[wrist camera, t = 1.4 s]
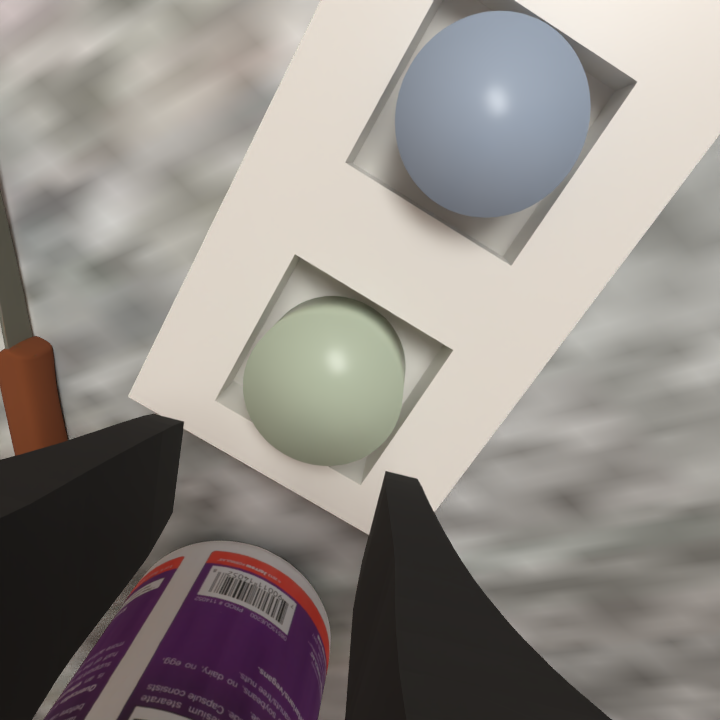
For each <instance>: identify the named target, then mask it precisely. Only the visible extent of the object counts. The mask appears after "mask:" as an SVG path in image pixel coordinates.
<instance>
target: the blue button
mask: <svg viewBox="0 0 720 720" xmlns="http://www.w3.org/2000/svg"><path fill="white" fill-rule="evenodd" d="M590 108H591V104H590V91H589V86H588V81H587V77H586V74H585V72H584V69H583V66H582V64H581V62H580V60H579V58H578V56H577V54H576V53H575V51H574V50H573V48H572V47H571V46H570V44H569V43H568V42H567V41H566V40H565V39H564V38H563V36H562V35H561V34H560V33H558V32H557V31H556V30H555V29H553V28H552V27H551V26H549V25H548V24H546V23H544V22H542V21H541V20H539V19H537V18H534V17H531V16H529V15H526V14H522V13H517V12H512V11H489V12H482V13H478V14H474V15H470V16H468V17H465V18H463V19H460V20H458V21H456V22H454V23H453V24H451V25H449V26H447V27H446V28H444V29H443V30H442V31H440V32H439V33H437V34H436V35H435V36H434V37H433V38H432V39H431V40H430V41H429V42H428V43H427V44H425V46H424V47H423V48H422V49H421V51H420V52H419V53H418V54H417V56H416V57H415V59H414V60H413V62H412V63H411V65H410V67H409V68H408V71H407V73H406V75H405V77H404V79H403V82H402V85H401V88H400V91H399V94H398V99H397V104H396V112H395V133H396V140H397V146H398V149H399V152H400V156H401V159H402V161H403V163H404V166H405V168H406V170H407V171H408V173H409V175H410V176H411V178H412V180H413V181H414V182H415V183H416V185H417V186H418V187H419V189H420V190H421V191H423V192H424V193H425V194H426V195H427V196H428V197H429V198H430V199H432V200H433V201H434V202H436V203H437V204H439V205H440V206H442V207H444V208H446V209H448V210H450V211H453V212H456V213H458V214H462V215H466V216H471V217H481V218H489V217H500V216H505V215H510V214H513V213H516V212H519V211H522V210H524V209H526V208H528V207H530V206H532V205H534V204H535V203H537V202H539V201H540V200H542V199H543V198H545V197H546V196H547V195H548V194H550V193H551V192H552V191H553V190H554V189H555V188H556V187H557V186H558V185H559V184H560V183H561V182H562V181H563V180H564V178H565V177H566V176H567V175H568V173H569V172H570V171H571V169H572V167H573V166H574V164H575V162H576V161H577V159H578V157H579V155H580V152H581V150H582V148H583V146H584V142H585V139H586V136H587V132H588V127H589V121H590Z"/></svg>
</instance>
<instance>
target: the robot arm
mask: <svg viewBox="0 0 720 720" xmlns="http://www.w3.org/2000/svg"><path fill="white" fill-rule="evenodd" d="M183 427H184V421H180V420H176V419H172V418H168V417H164V416H160V415H156V414H151V415H146V416H142V417H139V418H135V419H132V420H129V421H126V422H122V423H119V424H116V425H113V426H110V427H107V428H104V429H101V430H98V431H95V432H92V433H89V434H86V435H83V436H80V437H77V438H74V439H71V440H68V441H65V442H62V443H58V444H55V445H51V446H48V447H44V448H41V449H37V450H34V451H31V452H27V453H24V454H20V455H17V456H13V457H10V458H6V459H2V460H0V720H32V719H33V717H34V715H35V714H36V712H37V711H38V709H39V707H40V706H41V704H42V702H43V701H44V699H45V698H46V696H47V694H48V693H49V691H50V689H51V688H52V686H53V685H54V683H55V681H56V680H57V678H58V677H59V675H60V674H61V672H62V671H63V670H64V668H65V667H66V665H67V664H68V662H69V661H70V659H71V658H72V657H73V655H74V654H75V652H76V651H77V650H78V649H79V647H80V646H81V645H82V643H83V642H84V641H85V639H86V638H87V637H88V635H89V634H90V633H91V631H92V630H93V629H94V627H95V626H96V625H97V624H98V622H99V621H100V620H101V618H102V617H103V616H104V614H105V613H106V612H107V610H108V609H109V608H110V606H111V605H112V604H113V603H114V601H115V600H116V599H117V597H118V596H119V595H120V593H121V592H122V591H123V589H124V588H125V587H126V585H127V584H128V583H129V581H130V580H131V579H132V577H133V576H134V575H135V573H136V572H137V571H138V569H139V568H140V567H141V565H142V564H143V563H144V561H145V560H146V558H147V557H148V556H149V554H150V552H151V550H152V549H153V547H154V545H155V544H156V542H157V540H158V538H159V537H160V535H161V533H162V531H163V529H164V527H165V526H166V524H167V522H168V520H169V518H170V516H171V515H172V513H173V505H174V497H175V489H176V482H177V474H178V466H179V458H180V450H181V443H182V435H183ZM345 720H612V719H610V718H609V717H608V716H607V715H605V714H604V713H603V712H602V711H601V710H600V709H598V708H597V707H596V706H595V705H594V704H593V703H591V702H590V701H589V700H588V699H587V698H586V697H584V696H583V695H582V694H581V693H580V692H578V691H577V690H576V689H575V688H574V687H573V686H572V685H570V684H569V683H568V682H567V681H566V680H565V679H564V678H563V677H562V676H561V675H560V674H558V673H557V672H556V671H555V670H554V669H553V668H552V667H551V666H550V665H549V664H548V663H547V662H546V661H545V660H544V659H543V658H542V657H541V656H540V655H539V654H538V653H537V652H536V651H535V650H534V649H533V648H532V647H531V646H530V645H529V644H528V643H527V642H526V641H525V640H524V639H523V638H522V637H521V636H520V635H519V633H518V632H517V631H516V630H515V629H514V628H513V627H512V626H511V625H510V624H509V622H508V621H507V620H506V619H505V618H504V617H503V615H502V614H501V613H500V612H499V611H498V609H497V608H496V607H495V606H494V604H493V603H492V602H491V601H490V600H489V598H488V597H487V596H486V595H485V593H484V592H483V591H482V589H481V588H480V587H479V585H478V584H477V583H476V581H475V580H474V579H473V577H472V576H471V574H470V573H469V571H468V570H467V568H466V567H465V565H464V564H463V562H462V561H461V559H460V558H459V556H458V554H457V553H456V551H455V550H454V548H453V546H452V544H451V543H450V541H449V539H448V537H447V536H446V534H445V532H444V530H443V528H442V527H441V525H440V523H439V521H438V519H437V517H436V515H435V513H434V511H433V509H432V507H431V505H430V503H429V501H428V499H427V497H426V494H425V492H424V490H423V488H422V486H421V484H420V482H419V480H418V479H417V478H413V477H409V476H404V475H400V474H396V473H392V472H388V471H385V475H384V479H383V483H382V487H381V491H380V494H379V498H378V502H377V506H376V510H375V514H374V518H373V521H372V525H371V529H370V533H369V537H368V541H367V545H366V548H365V552H364V556H363V560H362V565H361V570H360V576H359V581H358V586H357V592H356V597H355V602H354V608H353V620H352V633H351V647H350V660H349V674H348V688H347V702H346V716H345Z"/></svg>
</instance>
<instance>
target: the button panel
mask: <svg viewBox="0 0 720 720" xmlns="http://www.w3.org/2000/svg"><path fill="white" fill-rule="evenodd" d="M489 11H512V12H517V13H522V14H526V15H529V16H531V17H534V18H537V19H539V20H541V21H542V22H544V23H546V24H548V25H549V26H551V27H552V28H553V29H555V30H556V31H557V32H558V33H560V34H561V35H562V36H563V38H564V39H565V40H566V41H567V42H568V43H569V44H570V46H571V47H572V48H573V50H574V51H575V53H576V54H577V56H578V58H579V60H580V62H581V64H582V66H583V69H584V72H585V74H586V77H587V81H588V86H589V91H590V104H591V108H590V121H589V127H588V132H587V136H586V139H585V142H584V146H583V148H582V150H581V152H580V155H579V157H578V159H577V161H576V162H575V164H574V166H573V167H572V169H571V171H570V172H569V173H568V175H567V176H566V177H565V178H564V180H563V181H562V182H561V183H560V184H559V185H558V186H557V187H556V188H555V189H554V190H553V191H552V192H551V193H550V194H548V195H547V196H546V197H545V198H543V199H542V200H540V201H539V202H537V203H535V204H534V205H532V206H530V207H528V208H526V209H524V210H522V211H519V212H516V213H513V214H510V215H505V216H500V217H489V218H481V217H471V216H466V215H462V214H458V213H456V212H453V211H450V210H448V209H446V208H444V207H442V206H440V205H439V204H437V203H436V202H434V201H433V200H432V199H430V198H429V197H428V196H427V195H426V194H425V193H424V192H423V191H421V190H420V189H419V187H418V186H417V185H416V183H415V182H414V181H413V180H412V178H411V176H410V175H409V173H408V171H407V170H406V168H405V166H404V163H403V161H402V159H401V156H400V152H399V149H398V146H397V140H396V133H395V112H396V104H397V99H398V94H399V91H400V88H401V85H402V82H403V79H404V77H405V75H406V73H407V71H408V68H409V67H410V65H411V63H412V62H413V60H414V59H415V57H416V56H417V54H418V53H419V52H420V51H421V49H422V48H423V47H424V46H425V44H427V43H428V42H429V41H430V40H431V39H432V38H433V37H434V36H435V35H436V34H437V33H439V32H440V31H442V30H443V29H444V28H446V27H447V26H449V25H451V24H453V23H454V22H456V21H458V20H460V19H463V18H465V17H468V16H470V15H474V14H478V13H482V12H489ZM719 134H720V0H321V1H320V3H319V5H318V7H317V9H316V11H315V13H314V15H313V17H312V19H311V21H310V23H309V25H308V27H307V29H306V31H305V34H304V36H303V38H302V40H301V42H300V44H299V46H298V48H297V50H296V52H295V54H294V56H293V58H292V60H291V62H290V64H289V66H288V68H287V71H286V73H285V75H284V77H283V79H282V81H281V83H280V85H279V87H278V89H277V91H276V93H275V95H274V97H273V99H272V101H271V103H270V105H269V108H268V110H267V112H266V114H265V116H264V118H263V120H262V122H261V124H260V126H259V128H258V130H257V132H256V134H255V136H254V138H253V140H252V142H251V145H250V147H249V149H248V151H247V153H246V155H245V157H244V159H243V161H242V163H241V165H240V167H239V169H238V171H237V173H236V175H235V177H234V180H233V182H232V184H231V186H230V188H229V190H228V192H227V194H226V196H225V198H224V200H223V202H222V204H221V206H220V208H219V210H218V212H217V214H216V217H215V219H214V221H213V223H212V225H211V227H210V229H209V231H208V233H207V235H206V237H205V239H204V241H203V243H202V245H201V247H200V249H199V251H198V254H197V256H196V258H195V260H194V262H193V264H192V266H191V268H190V270H189V272H188V274H187V276H186V278H185V280H184V282H183V284H182V286H181V289H180V291H179V293H178V295H177V297H176V299H175V301H174V303H173V305H172V307H171V309H170V311H169V313H168V315H167V317H166V319H165V321H164V323H163V326H162V328H161V330H160V332H159V334H158V336H157V338H156V340H155V342H154V344H153V346H152V348H151V350H150V352H149V354H148V356H147V358H146V360H145V363H144V365H143V367H142V369H141V371H140V373H139V375H138V377H137V379H136V381H135V383H134V385H133V387H132V389H131V391H130V393H129V395H128V397H129V398H131V399H133V400H135V401H136V402H138V403H140V404H142V405H143V406H145V407H147V408H149V409H150V410H152V411H154V412H156V413H157V414H159V415H161V416H164V417H168V418H172V419H176V420H180V421H184V427H183V429H185V430H187V431H189V432H190V433H192V434H194V435H196V436H197V437H199V438H201V439H203V440H204V441H206V442H208V443H210V444H211V445H213V446H215V447H217V448H218V449H220V450H222V451H223V452H225V453H227V454H229V455H230V456H232V457H234V458H236V459H237V460H239V461H241V462H243V463H244V464H246V465H248V466H250V467H251V468H253V469H255V470H257V471H258V472H260V473H262V474H264V475H265V476H267V477H269V478H271V479H272V480H274V481H276V482H277V483H279V484H281V485H283V486H284V487H286V488H288V489H290V490H291V491H293V492H295V493H297V494H298V495H300V496H302V497H304V498H305V499H307V500H309V501H311V502H312V503H314V504H316V505H318V506H319V507H321V508H323V509H325V510H326V511H328V512H330V513H331V514H333V515H335V516H337V517H338V518H340V519H342V520H344V521H345V522H347V523H349V524H351V525H352V526H354V527H356V528H358V529H359V530H361V531H363V532H365V533H366V534H368V535H369V533H370V529H371V525H372V521H373V518H374V514H375V510H376V506H377V502H378V498H379V494H380V491H381V487H382V483H383V479H384V475H385V471H388V472H392V473H396V474H400V475H404V476H409V477H413V478H417V479H418V480H419V482H420V484H421V486H422V488H423V490H424V492H425V494H426V497H427V499H428V501H429V503H430V505H431V507H432V509H433V511H434V512H435V511H436V509H437V508H438V507H439V505H440V504H441V503H442V501H443V500H444V499H445V497H446V496H447V495H448V494H449V492H450V491H451V490H452V488H453V487H454V486H455V484H456V483H457V482H458V480H459V479H460V478H461V476H462V475H463V474H464V472H465V471H466V470H467V468H468V467H469V466H470V464H471V463H472V462H473V460H474V459H475V458H476V456H477V455H478V454H479V452H480V451H481V450H482V448H483V447H484V446H485V444H486V443H487V442H488V440H489V439H490V438H491V437H492V435H493V434H494V433H495V431H496V430H497V429H498V427H499V426H500V425H501V423H502V422H503V421H504V419H505V418H506V417H507V415H508V414H509V413H510V411H511V410H512V409H513V407H514V406H515V405H516V403H517V402H518V401H519V399H520V398H521V397H522V395H523V394H524V393H525V391H526V390H527V389H528V387H529V386H530V385H531V384H532V382H533V381H534V380H535V378H536V377H537V376H538V374H539V373H540V372H541V370H542V369H543V368H544V366H545V365H546V364H547V362H548V361H549V360H550V358H551V357H552V356H553V354H554V353H555V352H556V350H557V349H558V348H559V346H560V345H561V344H562V342H563V341H564V340H565V338H566V337H567V336H568V334H569V333H570V332H571V331H572V329H573V328H574V327H575V325H576V324H577V323H578V321H579V320H580V319H581V317H582V316H583V315H584V313H585V312H586V311H587V309H588V308H589V307H590V305H591V304H592V303H593V301H594V300H595V299H596V297H597V296H598V295H599V293H600V292H601V291H602V289H603V288H604V287H605V285H606V284H607V283H608V281H609V280H610V279H611V277H612V276H613V275H614V274H615V272H616V271H617V270H618V268H619V267H620V266H621V264H622V263H623V262H624V260H625V259H626V258H627V256H628V255H629V254H630V252H631V251H632V250H633V248H634V247H635V246H636V244H637V243H638V242H639V240H640V239H641V238H642V236H643V235H644V234H645V232H646V231H647V230H648V228H649V227H650V226H651V224H652V223H653V222H654V221H655V219H656V218H657V217H658V215H659V214H660V213H661V211H662V210H663V209H664V207H665V206H666V205H667V203H668V202H669V201H670V199H671V198H672V197H673V195H674V194H675V193H676V191H677V190H678V189H679V187H680V186H681V185H682V183H683V182H684V181H685V179H686V178H687V177H688V175H689V174H690V173H691V171H692V170H693V169H694V168H695V166H696V165H697V164H698V162H699V161H700V160H701V158H702V157H703V156H704V154H705V153H706V152H707V150H708V149H709V148H710V146H711V145H712V144H713V142H714V141H715V140H716V138H717V137H718V136H719ZM323 296H341V297H347V298H351V299H355V300H358V301H360V302H363V303H365V304H367V305H369V306H370V307H372V308H373V309H375V310H376V311H378V312H379V313H380V314H381V315H382V316H384V317H385V318H386V319H387V321H388V322H389V323H390V324H391V325H392V327H393V328H394V330H395V331H396V333H397V335H398V337H399V339H400V341H401V344H402V347H403V350H404V355H405V363H406V370H405V380H404V390H403V399H402V408H401V412H400V416H399V419H398V421H397V423H396V426H395V428H394V429H393V431H392V433H391V434H390V436H389V437H388V438H387V439H386V441H385V442H384V443H383V444H382V445H381V446H380V447H379V448H377V449H376V450H375V451H373V452H372V453H371V454H369V455H367V456H365V457H364V458H362V459H359V460H357V461H354V462H351V463H347V464H343V465H335V466H320V465H312V464H308V463H304V462H301V461H298V460H295V459H293V458H291V457H289V456H287V455H285V454H283V453H282V452H280V451H278V450H277V449H276V448H274V447H273V446H272V445H271V444H270V443H268V442H267V441H266V440H265V438H264V437H263V436H262V435H261V434H260V433H259V431H258V430H257V429H256V427H255V426H254V424H253V422H252V420H251V418H250V416H249V414H248V411H247V409H246V405H245V401H244V394H243V377H244V370H245V367H246V364H247V360H248V358H249V356H250V354H251V352H252V350H253V349H254V347H255V346H256V344H257V343H258V342H259V341H260V339H261V338H262V337H263V336H264V335H265V334H266V333H267V332H268V331H269V330H270V329H271V328H272V327H273V326H274V325H275V324H276V323H277V322H278V321H279V320H280V319H281V318H282V317H283V316H284V315H285V314H286V313H287V312H288V311H289V310H290V309H292V308H294V307H295V306H297V305H298V304H300V303H302V302H305V301H307V300H310V299H313V298H317V297H323Z"/></svg>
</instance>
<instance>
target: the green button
mask: <svg viewBox="0 0 720 720" xmlns="http://www.w3.org/2000/svg"><path fill="white" fill-rule="evenodd" d="M405 370H406V363H405V355H404V350H403V347H402V344H401V341H400V339H399V337H398V335H397V333H396V331H395V330H394V328H393V327H392V325H391V324H390V323H389V322H388V321H387V319H386V318H385V317H384V316H382V315H381V314H380V313H379V312H378V311H376V310H375V309H373V308H372V307H370V306H369V305H367V304H365V303H363V302H360V301H358V300H355V299H351V298H347V297H341V296H323V297H317V298H313V299H310V300H307V301H305V302H302V303H300V304H298V305H297V306H295V307H294V308H292V309H290V310H289V311H288V312H287V313H286V314H285V315H284V316H283V317H282V318H281V319H280V320H279V321H278V322H277V323H276V324H275V325H274V326H273V327H272V328H271V329H270V330H269V331H268V332H267V333H266V334H265V335H264V336H263V337H262V338H261V339H260V341H259V342H258V343H257V344H256V346H255V347H254V349H253V350H252V352H251V354H250V356H249V358H248V360H247V364H246V367H245V370H244V377H243V394H244V401H245V405H246V409H247V411H248V414H249V416H250V418H251V420H252V422H253V424H254V426H255V427H256V429H257V430H258V431H259V433H260V434H261V435H262V436H263V437H264V438H265V440H266V441H267V442H268V443H270V444H271V445H272V446H273V447H274V448H276V449H277V450H278V451H280V452H282V453H283V454H285V455H287V456H289V457H291V458H293V459H295V460H298V461H301V462H304V463H308V464H312V465H320V466H335V465H343V464H347V463H351V462H354V461H357V460H359V459H362V458H364V457H365V456H367V455H369V454H371V453H372V452H373V451H375V450H376V449H377V448H379V447H380V446H381V445H382V444H383V443H384V442H385V441H386V439H387V438H388V437H389V436H390V434H391V433H392V431H393V429H394V428H395V426H396V423H397V421H398V419H399V416H400V412H401V408H402V399H403V390H404V380H405Z"/></svg>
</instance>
